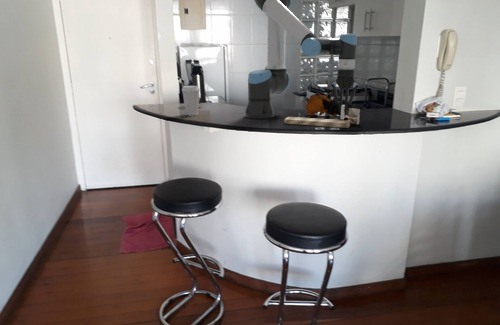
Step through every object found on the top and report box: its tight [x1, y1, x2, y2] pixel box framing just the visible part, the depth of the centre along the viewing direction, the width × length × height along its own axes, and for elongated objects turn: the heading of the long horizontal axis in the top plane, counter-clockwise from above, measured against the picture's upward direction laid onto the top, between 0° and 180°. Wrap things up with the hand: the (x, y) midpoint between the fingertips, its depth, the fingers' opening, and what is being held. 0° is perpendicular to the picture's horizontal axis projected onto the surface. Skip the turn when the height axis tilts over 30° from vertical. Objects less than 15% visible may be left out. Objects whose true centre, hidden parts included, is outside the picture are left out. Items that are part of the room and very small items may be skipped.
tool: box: [305, 92, 355, 118], centre depth 201 cm, size 8×23×15 cm, turn 72°
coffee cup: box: [181, 85, 201, 117], centre depth 205 cm, size 10×10×15 cm
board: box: [283, 116, 352, 129], centre depth 182 cm, size 30×7×2 cm, turn 70°
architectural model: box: [343, 107, 361, 125], centre depth 182 cm, size 3×7×7 cm, turn 49°
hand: (342, 118), depth 186 cm, fingers closed
